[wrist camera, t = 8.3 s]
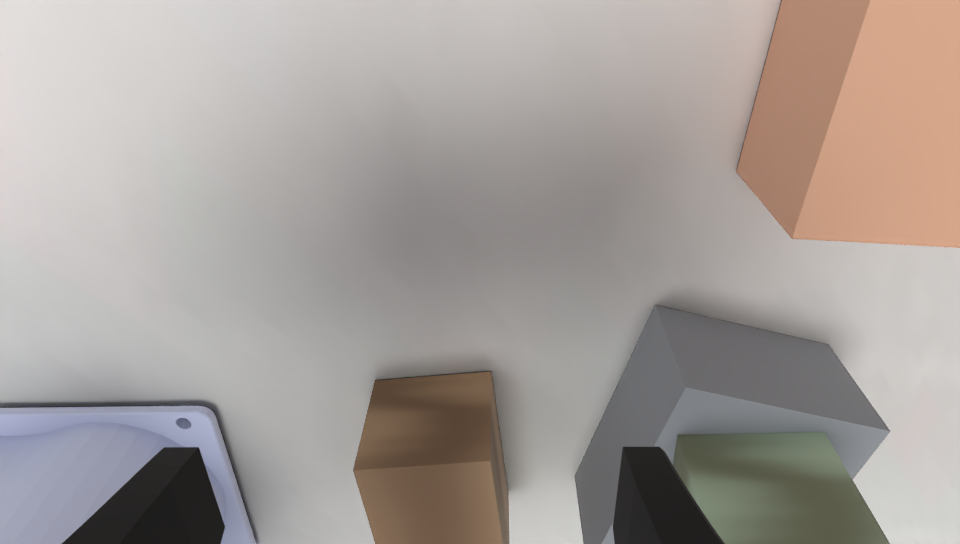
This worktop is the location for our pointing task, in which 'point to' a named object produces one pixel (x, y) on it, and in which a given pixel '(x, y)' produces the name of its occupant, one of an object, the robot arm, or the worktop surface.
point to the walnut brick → (434, 462)
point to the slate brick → (719, 400)
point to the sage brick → (775, 489)
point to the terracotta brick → (860, 122)
